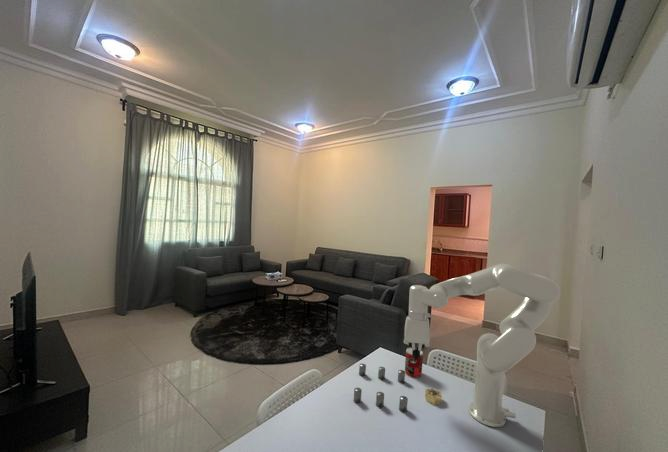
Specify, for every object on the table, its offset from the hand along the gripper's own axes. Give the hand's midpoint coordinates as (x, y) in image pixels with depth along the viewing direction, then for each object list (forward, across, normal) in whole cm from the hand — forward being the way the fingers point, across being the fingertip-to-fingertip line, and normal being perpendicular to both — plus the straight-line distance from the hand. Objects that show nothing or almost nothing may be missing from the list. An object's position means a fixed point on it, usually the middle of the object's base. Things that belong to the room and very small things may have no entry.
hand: (415, 358), depth 118 cm
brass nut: (+17, -8, 0) cm, 18 cm away
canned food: (+16, -1, -19) cm, 25 cm away
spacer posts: (+16, +14, 0) cm, 21 cm away
